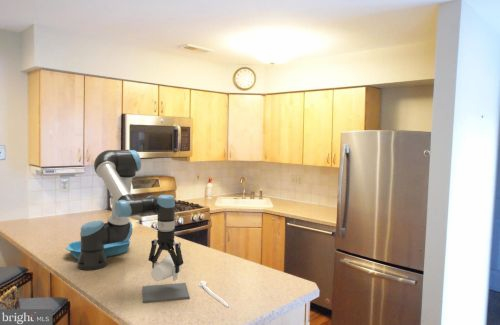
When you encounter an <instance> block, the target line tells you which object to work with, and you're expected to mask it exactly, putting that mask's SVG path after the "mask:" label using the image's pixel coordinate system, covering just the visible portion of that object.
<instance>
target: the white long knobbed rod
mask: <svg viewBox="0 0 500 325" xmlns="http://www.w3.org/2000/svg"><path fill="white" fill-rule="evenodd" d="M198 287H199V288H202V289H203V290H204V291H205V292H207V294H208V295H209V296H211V297H212V298H214V299H215V300H217V301H218V302H219V303H220V304H222V305H223V306H225V307H226V308H230V305H229V304H228V302H226V301H225V300H224V299H223V298H221V297H220V296H219V295H218V294H216V293H214V292H213V291H212V290H211V289H210V288H209V287H208V286H207V281H206V280H200V281H199V282H198Z"/></svg>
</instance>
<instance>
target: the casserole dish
mask: <svg viewBox="0 0 500 325" xmlns="http://www.w3.org/2000/svg"><path fill="white" fill-rule="evenodd" d="M130 244H131V238H130V239H129V240H127V241H123V242H117V243H111V244H105V245H104V252H105V255H106V258H108V257H109V258H110V257H113V256H119V255H121V254H124V253H126V252H127V251H128V250H129V248H130ZM65 249H66V251H68V252H69V253H70V255H71V256H73V258H75V260H77V261H78V259H79V256H80V253H81V240H76V241H71V242H69V243H68V244H67V246H66V247H65Z"/></svg>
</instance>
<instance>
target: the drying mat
mask: <svg viewBox="0 0 500 325" xmlns="http://www.w3.org/2000/svg"><path fill="white" fill-rule="evenodd" d="M179 300H190V293H189V291H188V286H187V283H186V282H179V283H165V284H164V283H163V284H154V285H142V304H146V303H147V304H148V303H158V302H168V301H169V302H171V301H179Z"/></svg>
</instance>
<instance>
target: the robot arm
mask: <svg viewBox="0 0 500 325" xmlns="http://www.w3.org/2000/svg"><path fill="white" fill-rule="evenodd" d="M141 168H142V161H141V157H140V155H139V153H138V151H136V150H134V149H107V150H104V151H102V152H100V153H98V155H97V157H95V160H94V162H93V169H94V172H95V173H96V175H97V176H98V177H99V178H101V179H102V180H103V183H104V184H105V186H106V188H107V189H108V191H109V193H110V194H111V196H112V204H111V213H110V216H109V217H108V218H107V222H104V221H103V220H93V221H88V222H86V223H84V224H83V225H81V227H80V234H79V235H80V236H79V237H80V241H81V253H80V256H79V259H78V260H77V265H76V266H77V269H79V270H84V271H94V270H99V269H102V268H105V267H106V266H107V265H108V257H106V255H105V252H104V245H105V244H111V243H117V242H123V241H127V240H129V239H131V237H132V235H133V223H132V221H131V220H130V218H129V217H135V216H142V215H151V214H155V215H157V229H158V230H157V231H156V232H157V234H156V236H157V239H153V240H151V242H150V243H151V246H150V247H151V248H150V251H149V256H148V258H147V259H148V261H149V262H151V264H152V269H153V268H154V267H155V266H156V265H158V264H159V261H158V259H159V257H160V256H161V254H162V252H163V251H166V252H168V254H169V255H170V256H171V258H172V260H173V262H174V265H175V266H173V276H172V280H173V282H175V281H177V280H178V276H179V273H180V272H179V266H180V265H181V266H182V265H183V264H184V259H183V255H182V249H181V245H182V243H181V242H179V241H178V242H175V228H176V226H175V224H176V223H175V221H176V220H175V217H176V215H175V214H176V213H175V211H176V210H175V209H176V202H175V199H176V198H175V196H174V195H172V194H161V195H158V196H156V195H148V196H147V197H140V198H134V196H133V195H132V193H131V189H132V183H133V182H132V181H133V178H135V177H136V174H137V172H139V171H140V170H141ZM157 246H158V247H157ZM152 269H151V270H152Z"/></svg>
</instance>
